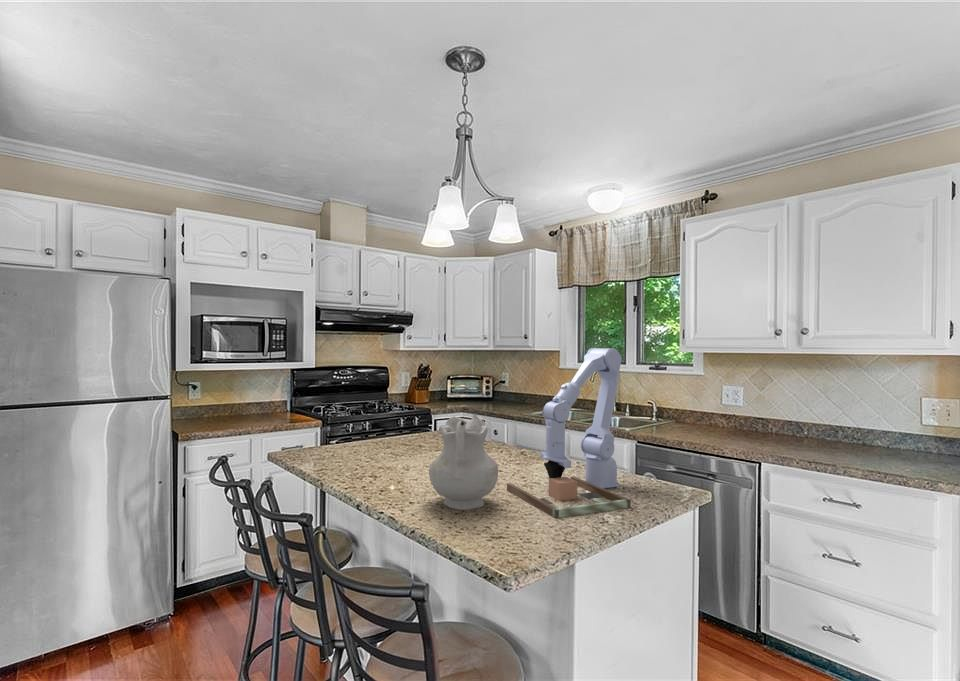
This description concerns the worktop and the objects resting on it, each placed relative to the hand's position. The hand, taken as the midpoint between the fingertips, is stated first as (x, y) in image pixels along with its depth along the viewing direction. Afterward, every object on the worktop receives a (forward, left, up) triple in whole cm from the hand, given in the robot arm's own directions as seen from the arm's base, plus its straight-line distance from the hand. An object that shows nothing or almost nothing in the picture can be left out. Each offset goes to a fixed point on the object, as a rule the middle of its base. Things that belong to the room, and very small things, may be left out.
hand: (554, 486), depth 158 cm
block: (0, +5, -2) cm, 5 cm away
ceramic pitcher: (+30, +1, -2) cm, 30 cm away
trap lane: (0, +6, -2) cm, 6 cm away
